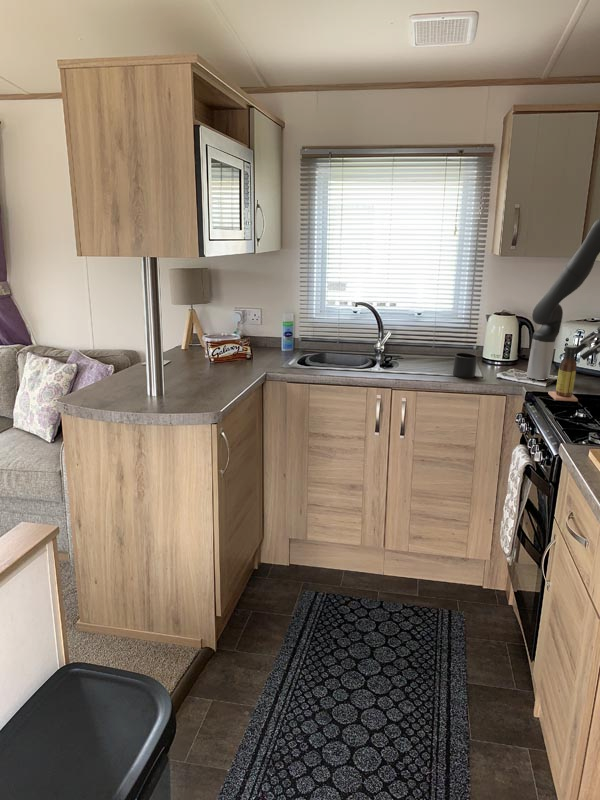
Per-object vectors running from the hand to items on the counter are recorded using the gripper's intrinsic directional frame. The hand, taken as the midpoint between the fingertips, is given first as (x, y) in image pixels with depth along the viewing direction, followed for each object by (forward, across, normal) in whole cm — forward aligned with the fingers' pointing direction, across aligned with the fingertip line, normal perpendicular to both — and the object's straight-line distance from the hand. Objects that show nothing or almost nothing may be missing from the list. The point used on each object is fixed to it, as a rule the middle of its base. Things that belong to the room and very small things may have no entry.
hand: (577, 355), depth 236 cm
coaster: (+14, 0, +10) cm, 18 cm away
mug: (+39, -27, -14) cm, 49 cm away
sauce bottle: (+14, 0, +10) cm, 17 cm away
